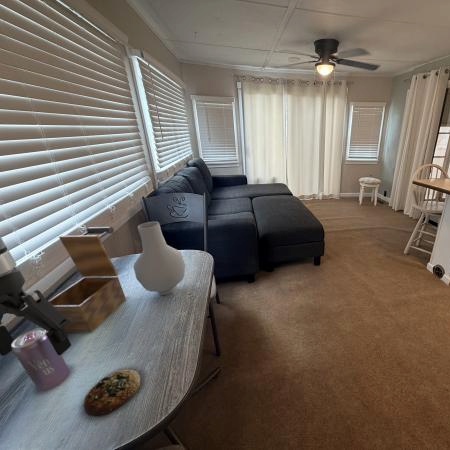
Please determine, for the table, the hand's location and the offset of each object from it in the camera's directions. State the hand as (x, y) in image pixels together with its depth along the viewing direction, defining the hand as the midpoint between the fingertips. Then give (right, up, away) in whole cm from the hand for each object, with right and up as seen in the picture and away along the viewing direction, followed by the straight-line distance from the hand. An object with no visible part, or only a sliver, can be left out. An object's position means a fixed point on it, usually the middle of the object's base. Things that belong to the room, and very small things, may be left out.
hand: (37, 350), depth 57 cm
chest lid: (-9, +19, +24) cm, 32 cm away
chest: (-9, -2, +26) cm, 27 cm away
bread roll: (+18, -11, +1) cm, 21 cm away
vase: (+10, +4, +38) cm, 40 cm away
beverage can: (0, -10, +4) cm, 11 cm away
